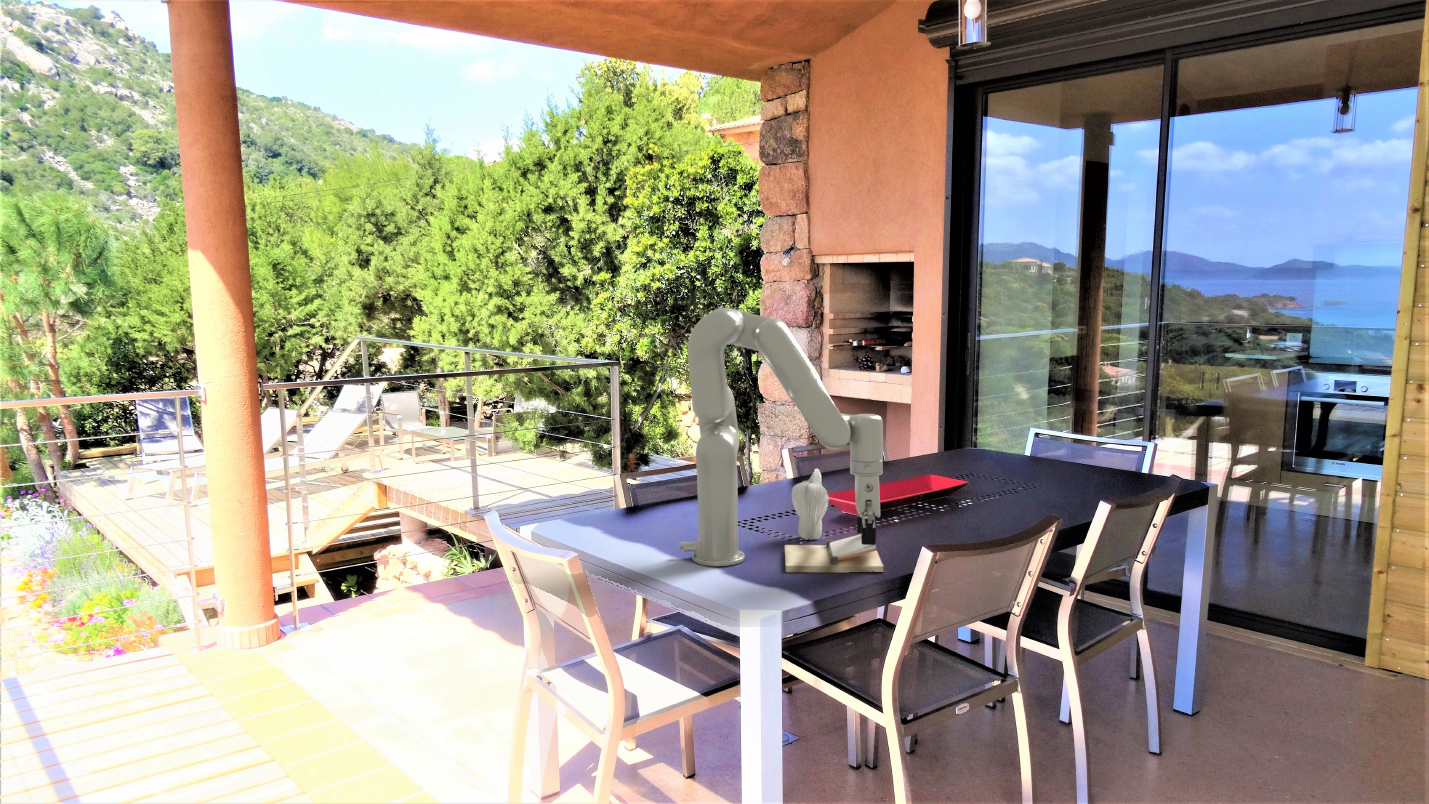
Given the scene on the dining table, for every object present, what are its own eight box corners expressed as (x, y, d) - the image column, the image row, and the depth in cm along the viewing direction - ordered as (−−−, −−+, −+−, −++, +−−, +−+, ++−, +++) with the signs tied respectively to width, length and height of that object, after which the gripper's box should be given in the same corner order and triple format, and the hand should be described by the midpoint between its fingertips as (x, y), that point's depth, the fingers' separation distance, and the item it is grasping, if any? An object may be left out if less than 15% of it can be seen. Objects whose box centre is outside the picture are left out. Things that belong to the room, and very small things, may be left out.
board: (785, 571, 197) (785, 558, 196) (784, 550, 214) (784, 538, 213) (883, 572, 195) (883, 559, 195) (874, 551, 212) (874, 539, 212)
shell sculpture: (801, 544, 219) (801, 474, 217) (790, 535, 227) (790, 468, 225) (832, 541, 222) (832, 472, 220) (819, 533, 230) (819, 466, 228)
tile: (875, 545, 197) (876, 550, 197) (869, 531, 209) (870, 536, 209) (830, 557, 198) (832, 562, 198) (827, 543, 210) (828, 547, 210)
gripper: (887, 474, 193) (887, 548, 194) (878, 460, 210) (877, 529, 212) (853, 474, 193) (853, 548, 195) (846, 460, 210) (846, 529, 212)
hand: (866, 538), depth 203 cm, fingers open, 9 cm apart
